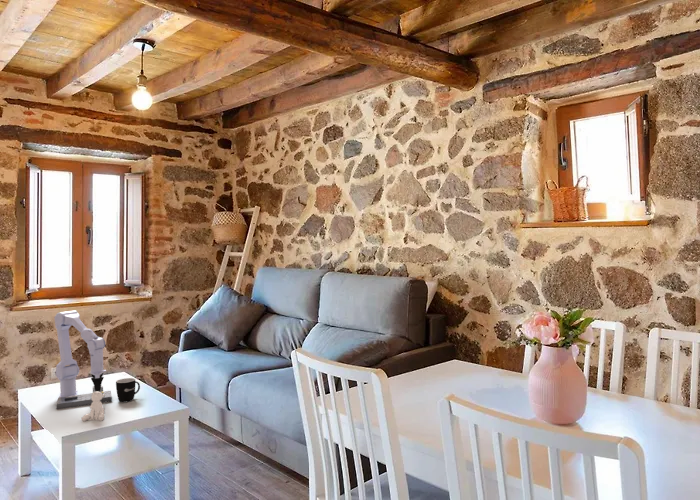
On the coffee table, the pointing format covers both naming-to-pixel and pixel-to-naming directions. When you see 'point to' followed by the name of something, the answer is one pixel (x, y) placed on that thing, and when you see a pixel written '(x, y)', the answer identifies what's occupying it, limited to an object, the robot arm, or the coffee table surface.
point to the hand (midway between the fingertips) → (97, 389)
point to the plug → (99, 391)
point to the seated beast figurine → (95, 408)
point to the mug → (126, 389)
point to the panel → (81, 400)
